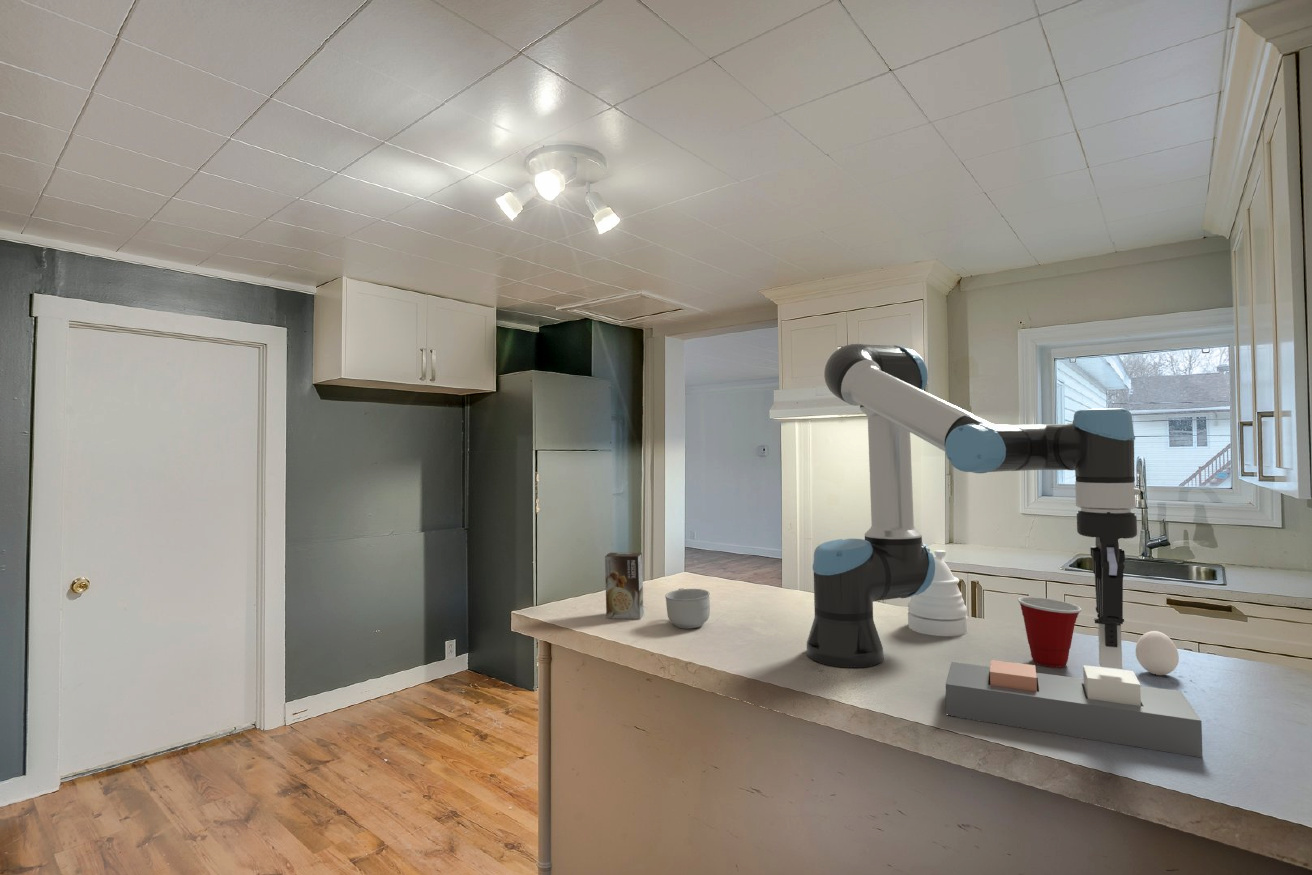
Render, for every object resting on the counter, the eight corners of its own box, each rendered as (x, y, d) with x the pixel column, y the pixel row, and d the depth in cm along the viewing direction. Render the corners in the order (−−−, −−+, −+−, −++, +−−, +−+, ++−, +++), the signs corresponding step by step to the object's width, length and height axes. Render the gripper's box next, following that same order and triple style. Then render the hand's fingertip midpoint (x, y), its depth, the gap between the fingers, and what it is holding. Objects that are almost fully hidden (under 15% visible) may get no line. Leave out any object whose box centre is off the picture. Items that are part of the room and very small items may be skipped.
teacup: (711, 631, 154) (711, 597, 154) (665, 632, 154) (665, 598, 155) (707, 616, 168) (707, 585, 168) (665, 616, 168) (665, 585, 168)
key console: (946, 715, 104) (945, 683, 104) (952, 690, 115) (951, 661, 115) (1202, 757, 89) (1201, 720, 89) (1182, 724, 100) (1181, 691, 100)
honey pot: (926, 618, 163) (924, 546, 163) (978, 629, 153) (976, 551, 153) (897, 627, 155) (895, 551, 155) (950, 639, 145) (948, 558, 145)
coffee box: (644, 613, 172) (643, 552, 173) (640, 619, 166) (639, 556, 166) (610, 612, 174) (609, 551, 174) (605, 618, 167) (604, 555, 168)
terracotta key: (990, 696, 104) (990, 671, 104) (991, 683, 109) (991, 659, 109) (1037, 703, 101) (1036, 677, 101) (1035, 690, 106) (1035, 665, 106)
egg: (1127, 669, 124) (1126, 627, 124) (1158, 667, 125) (1157, 626, 125) (1156, 681, 118) (1154, 636, 118) (1188, 679, 118) (1187, 635, 118)
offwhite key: (1088, 704, 98) (1087, 677, 98) (1083, 690, 103) (1083, 664, 103) (1141, 712, 95) (1140, 684, 95) (1133, 697, 100) (1132, 670, 100)
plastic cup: (1094, 673, 122) (1092, 609, 122) (1030, 670, 124) (1028, 607, 124) (1069, 655, 132) (1067, 596, 133) (1011, 653, 135) (1010, 594, 135)
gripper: (1144, 514, 92) (1149, 683, 91) (1129, 507, 103) (1133, 657, 103) (1080, 513, 95) (1085, 676, 95) (1072, 505, 107) (1077, 651, 106)
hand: (1110, 666), depth 99 cm, fingers closed
